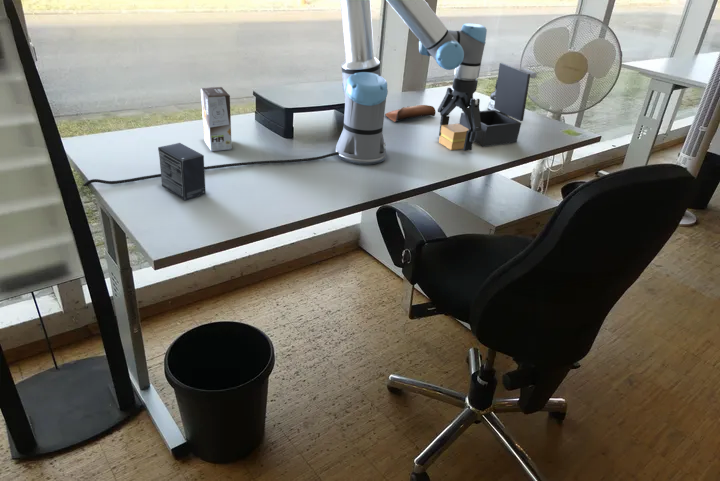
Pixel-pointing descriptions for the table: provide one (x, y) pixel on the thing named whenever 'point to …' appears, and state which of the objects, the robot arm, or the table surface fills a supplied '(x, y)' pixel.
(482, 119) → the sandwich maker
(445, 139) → the toast sandwich
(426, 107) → the sunglasses case
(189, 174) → the small box
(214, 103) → the coffee box
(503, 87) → the grill lid
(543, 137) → the table surface
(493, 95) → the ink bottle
